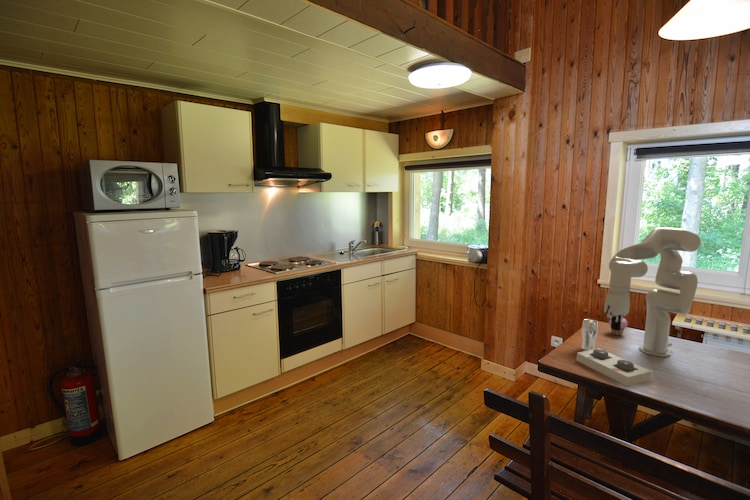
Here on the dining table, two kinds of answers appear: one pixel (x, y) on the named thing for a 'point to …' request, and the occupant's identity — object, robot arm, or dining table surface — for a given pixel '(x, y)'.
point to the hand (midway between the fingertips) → (615, 329)
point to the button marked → (625, 365)
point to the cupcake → (623, 326)
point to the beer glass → (589, 334)
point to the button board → (614, 368)
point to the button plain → (600, 354)
